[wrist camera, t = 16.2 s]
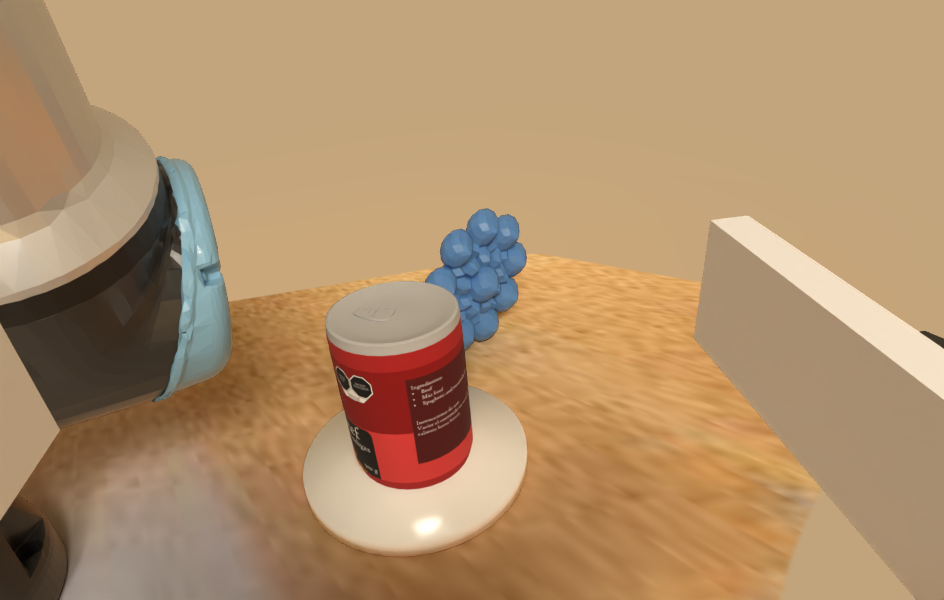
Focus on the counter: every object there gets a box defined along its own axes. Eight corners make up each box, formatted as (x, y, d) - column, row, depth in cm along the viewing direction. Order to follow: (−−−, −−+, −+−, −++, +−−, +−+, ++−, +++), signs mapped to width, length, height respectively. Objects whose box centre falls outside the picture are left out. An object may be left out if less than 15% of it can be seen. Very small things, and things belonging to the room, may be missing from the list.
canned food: (365, 416, 44) (336, 284, 38) (473, 409, 43) (460, 274, 38) (347, 498, 37) (309, 351, 31) (475, 489, 37) (459, 340, 31)
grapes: (492, 300, 60) (484, 184, 54) (545, 321, 55) (542, 199, 49) (402, 350, 53) (381, 225, 47) (453, 380, 49) (436, 246, 43)
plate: (260, 524, 37) (255, 511, 36) (371, 381, 49) (369, 369, 49) (488, 584, 32) (486, 570, 32) (549, 409, 44) (549, 396, 44)
